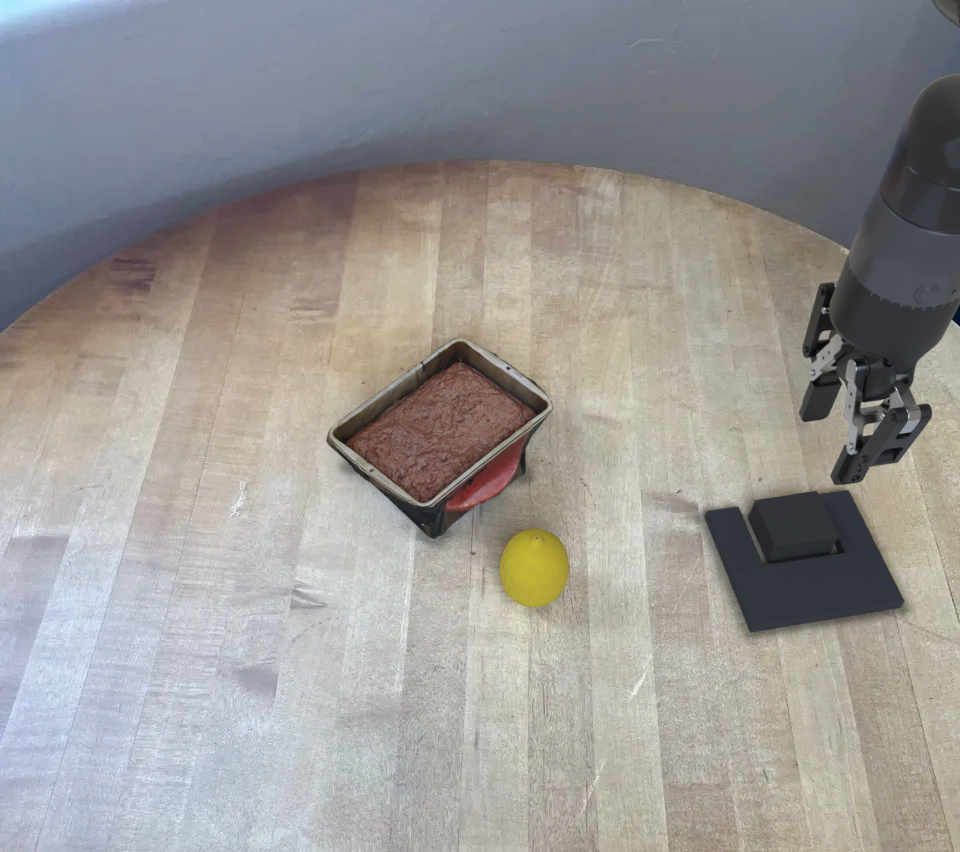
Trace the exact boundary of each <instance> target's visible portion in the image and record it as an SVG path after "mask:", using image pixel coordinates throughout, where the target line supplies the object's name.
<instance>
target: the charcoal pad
mask: <svg viewBox="0 0 960 852" xmlns="http://www.w3.org/2000/svg"><path fill="white" fill-rule="evenodd" d="M818 494H819V496H820V498H821V501H822V503H823V505H824V507H825V509H826V511H827V513H828V515H829V517H830V519H831V521H832V523H833V525H834V527H835V529H836V531H837V533H838V535H839V537H838V539H837V540H836V542H835V544H834V547H835V548H836V550H837V552H838V553H833V554H826V555H820V556H813V557H807V558H801V559H794V560H788V561H782V562H775V563H769V564H764V563H763V561H762V559H761V556H760V554H759V551H758V549H757V547H756V543H755V541H754V540H753V538H752V537H753V536H752V535H751V533H750V530H749V528H748V525H747V523H746V520H745V518H744V516H743V514H742V512H741V511H742V510H741V508H740V507H739V506H732V507H731V506H730V507H725V508H718V509H711V510H707V511H706V513H705V515H704V521H705V523H706V525H707V528H708V531H709V533H710V535H711V538H712V540H713V543H714V546H715V548H716V551H717V553H718V555H719V558H720V561H721V564H722V566H723V568H724V570H725V573H726V576H727V578H728V580H729V583H730V586H731V589H732V590H733V594H734V595H735V598H736V601H737V603H738V605H739V608H740V611H741V613H742V616H743V619H744V622H745V623H746V626H747V628H748V631H749V633H751V634H752V633H757V632H762V631H771V630H775V629H781V628H787V627H788V628H789V627H794V626H799V625H800V626H801V625H807V624H812V623H818V622H823V621H830V620H836V619H843V618H847V617H848V618H849V617H854V616H861V615H866V614H872V613H879V612H884V611H890V610H896V609H897V610H899V609H901V608H902V607H903V605H904V604H905V600H904V598H903V595H902V593H901V592H900V590H899V587H898V585H897V584H896V581H895V580H894V577H893V575H892V573H891V572H890V569H889V568H888V567H889V566H888V565H887V563H886V562H885V559H884V558H883V556H882V554H881V551H880V549H879V547H878V545H877V544H876V542H875V540H874V538H873V536H872V533H871V532H870V530H869V528H868V525H867V524H866V522H865V520H864V518H863V515H862V514H861V512H860V510H859V508H858V506H857V504H856V502H855V500H854V498H853V496H852V494H851V492H850V490H849V489H846V490H845V489H844V490H839V491H831V492H825V493H818Z"/></svg>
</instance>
